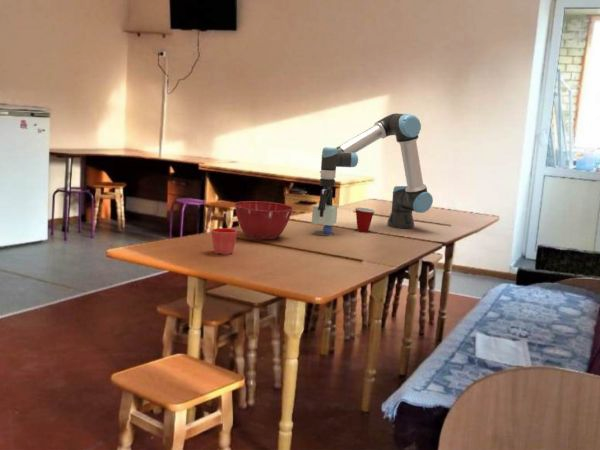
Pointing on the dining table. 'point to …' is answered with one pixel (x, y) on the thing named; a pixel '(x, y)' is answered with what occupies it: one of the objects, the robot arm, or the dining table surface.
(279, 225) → the mixing bowl
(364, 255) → the dining table surface
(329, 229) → the ball
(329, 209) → the pale green brick
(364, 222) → the plastic cup
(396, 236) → the dining table surface
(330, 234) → the grey spot
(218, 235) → the flower pot
